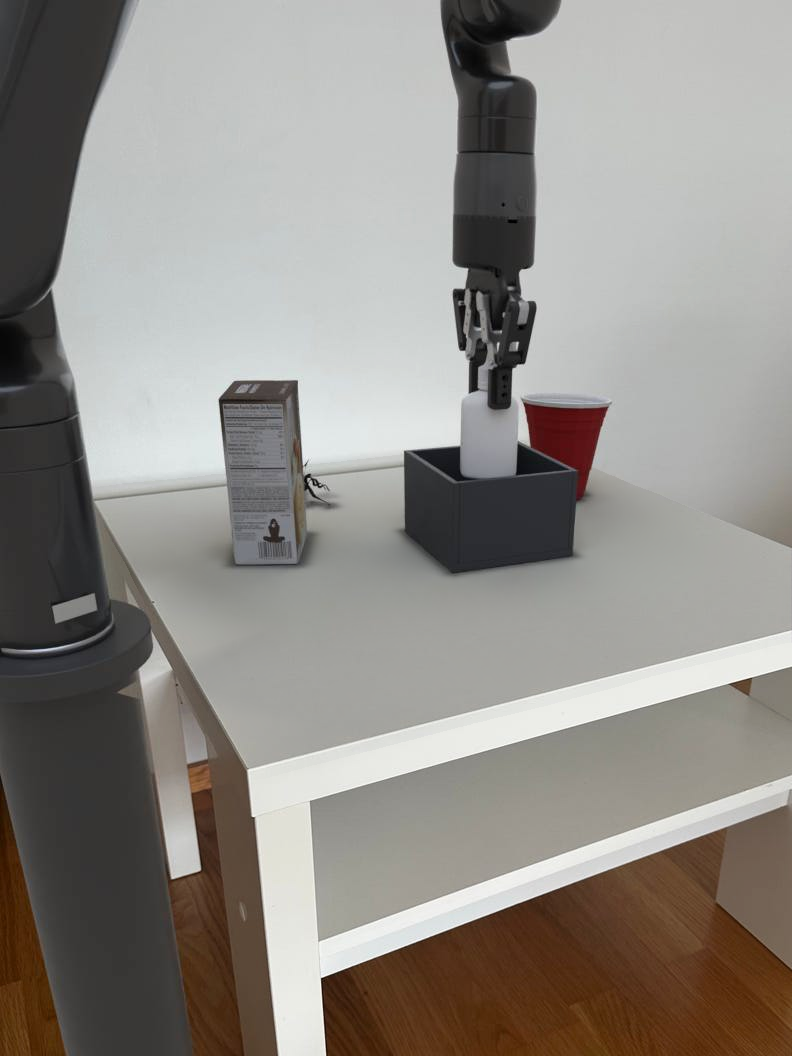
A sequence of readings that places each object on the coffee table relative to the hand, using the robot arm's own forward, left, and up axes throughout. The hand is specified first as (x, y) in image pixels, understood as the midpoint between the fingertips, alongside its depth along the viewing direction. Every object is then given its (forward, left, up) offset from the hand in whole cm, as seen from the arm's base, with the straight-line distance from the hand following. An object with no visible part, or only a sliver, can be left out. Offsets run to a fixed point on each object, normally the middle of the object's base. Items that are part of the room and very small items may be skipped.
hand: (489, 403), depth 91 cm
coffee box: (-21, +6, -15) cm, 26 cm away
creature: (-14, +21, -15) cm, 29 cm away
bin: (0, 0, -14) cm, 14 cm away
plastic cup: (+16, +13, -15) cm, 25 cm away
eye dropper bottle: (0, 0, -7) cm, 7 cm away
